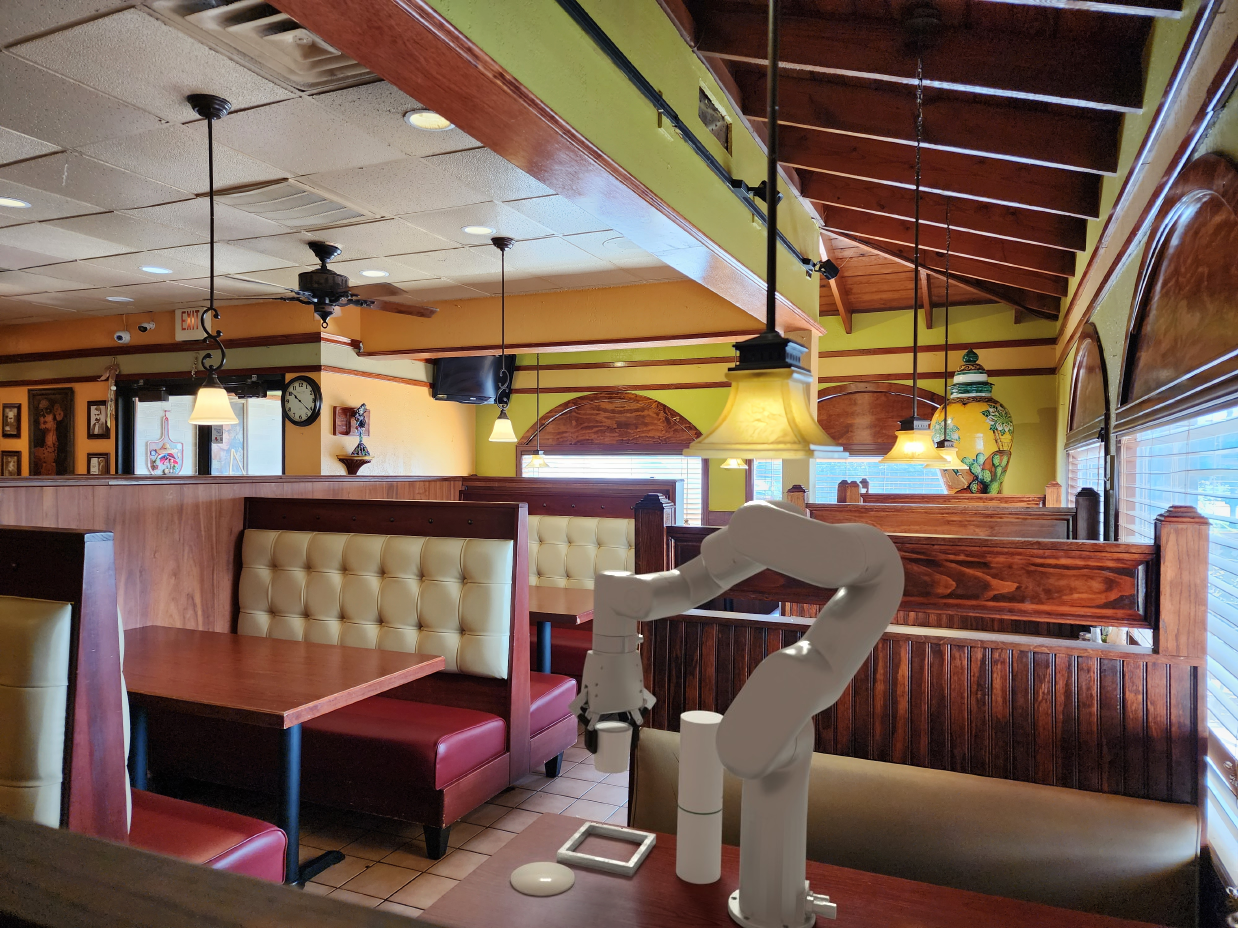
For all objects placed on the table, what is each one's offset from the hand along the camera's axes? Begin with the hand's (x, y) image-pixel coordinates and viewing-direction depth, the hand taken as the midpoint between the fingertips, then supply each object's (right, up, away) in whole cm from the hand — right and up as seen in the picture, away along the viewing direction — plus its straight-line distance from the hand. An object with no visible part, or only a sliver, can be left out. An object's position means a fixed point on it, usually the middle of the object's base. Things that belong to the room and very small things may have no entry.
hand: (611, 747), depth 136 cm
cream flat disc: (-11, -17, -11) cm, 23 cm away
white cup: (0, -4, 0) cm, 4 cm away
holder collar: (-1, -17, 0) cm, 17 cm away
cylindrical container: (+14, -18, -7) cm, 24 cm away
